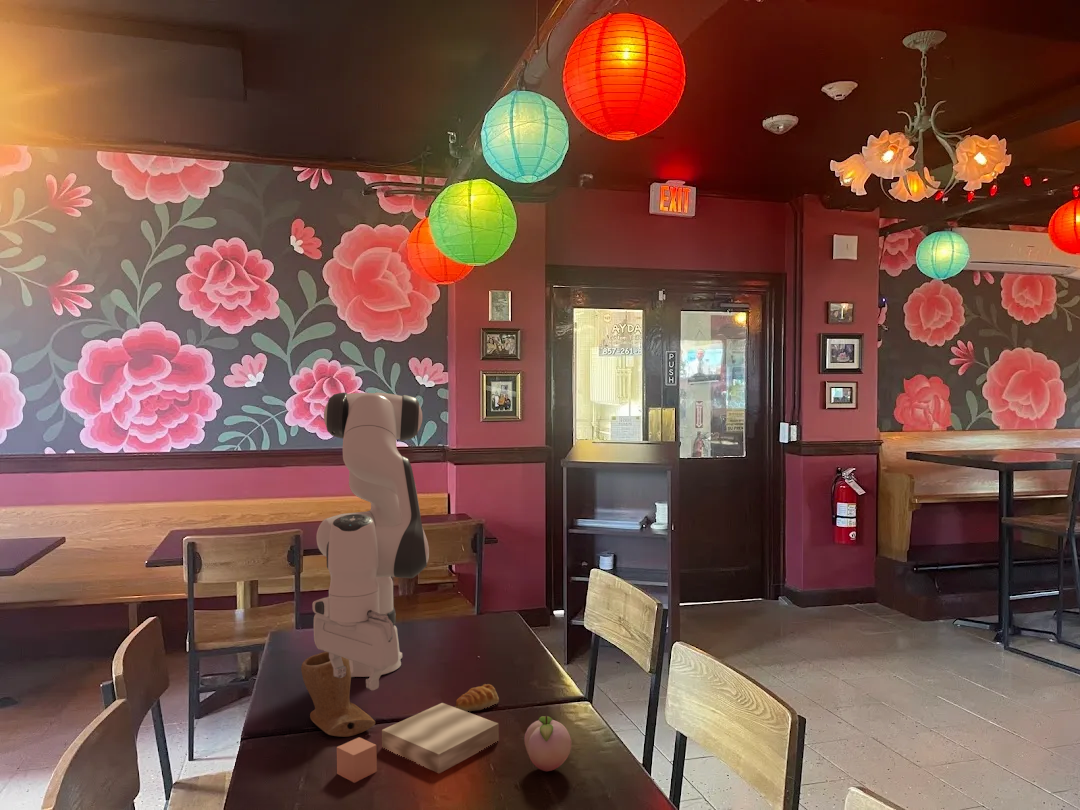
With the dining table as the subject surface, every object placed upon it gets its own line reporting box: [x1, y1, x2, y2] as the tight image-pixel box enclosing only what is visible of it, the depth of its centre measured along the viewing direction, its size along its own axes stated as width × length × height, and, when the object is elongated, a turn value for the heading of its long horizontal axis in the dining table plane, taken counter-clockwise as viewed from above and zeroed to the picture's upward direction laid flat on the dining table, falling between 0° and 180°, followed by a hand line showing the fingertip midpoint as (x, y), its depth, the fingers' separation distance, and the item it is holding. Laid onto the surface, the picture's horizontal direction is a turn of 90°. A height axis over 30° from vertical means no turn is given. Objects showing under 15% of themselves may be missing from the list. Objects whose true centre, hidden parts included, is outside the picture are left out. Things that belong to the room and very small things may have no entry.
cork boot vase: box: [300, 651, 376, 738], centre depth 158 cm, size 15×12×15 cm
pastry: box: [455, 683, 500, 712], centre depth 169 cm, size 9×7×4 cm
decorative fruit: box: [524, 715, 572, 773], centre depth 139 cm, size 9×8×10 cm
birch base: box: [381, 702, 500, 774], centre depth 150 cm, size 16×16×4 cm
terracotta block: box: [336, 737, 378, 784], centre depth 140 cm, size 5×5×5 cm
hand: (355, 682), depth 139 cm, fingers open, 8 cm apart
